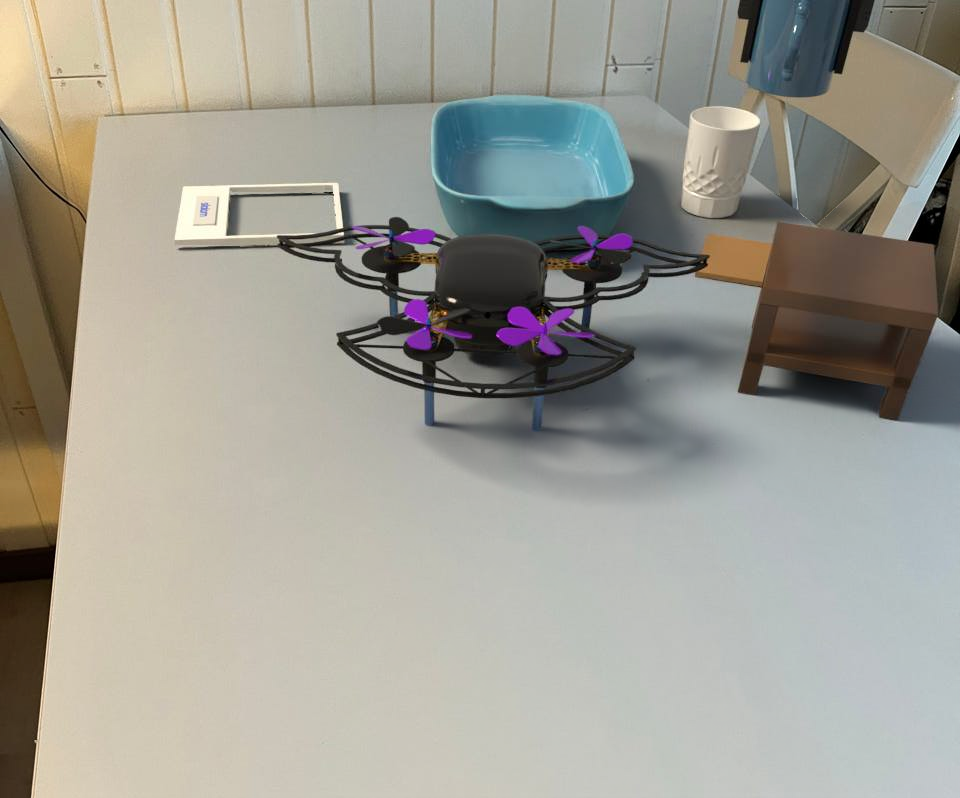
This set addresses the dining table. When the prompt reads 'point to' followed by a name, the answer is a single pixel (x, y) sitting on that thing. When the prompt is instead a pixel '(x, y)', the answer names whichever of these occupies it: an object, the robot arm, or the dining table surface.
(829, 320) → the walnut side table
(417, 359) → the drone
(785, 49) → the mug
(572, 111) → the casserole dish
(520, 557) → the dining table surface
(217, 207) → the photo frame
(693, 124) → the white cup
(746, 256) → the cork mat
